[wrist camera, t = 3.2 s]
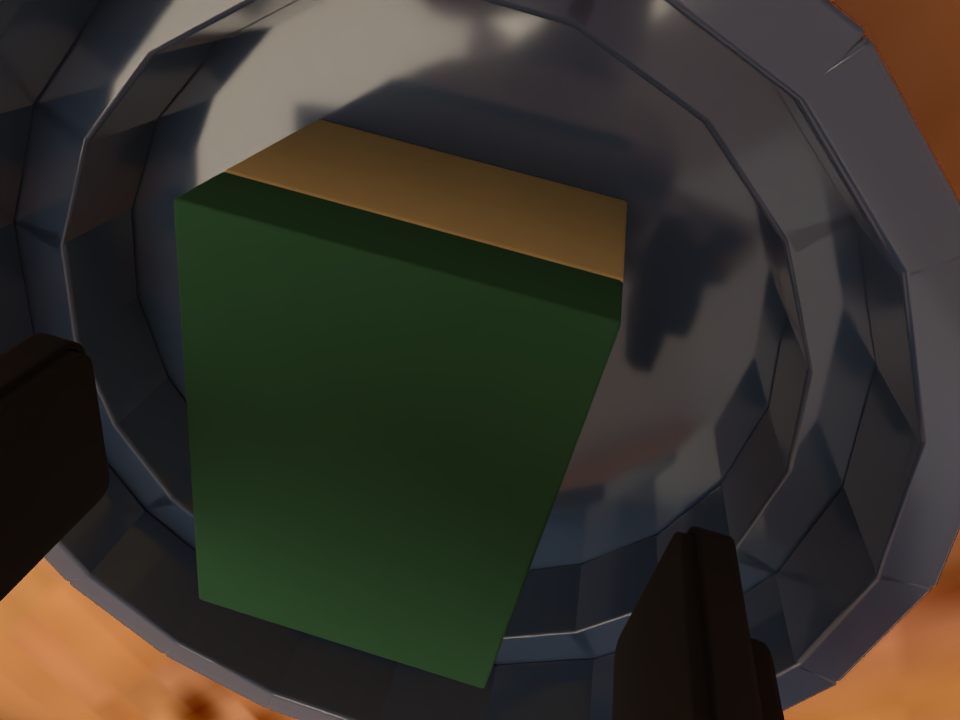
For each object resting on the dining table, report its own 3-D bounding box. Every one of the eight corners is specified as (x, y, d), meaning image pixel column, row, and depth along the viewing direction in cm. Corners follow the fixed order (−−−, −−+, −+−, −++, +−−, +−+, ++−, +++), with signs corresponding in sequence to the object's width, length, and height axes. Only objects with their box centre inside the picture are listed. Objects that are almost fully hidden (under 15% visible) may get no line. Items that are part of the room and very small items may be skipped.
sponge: (317, 118, 12) (170, 197, 8) (628, 200, 11) (622, 323, 8) (298, 451, 16) (197, 600, 12) (520, 517, 16) (484, 690, 12)
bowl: (209, -453, 9) (-121, -755, 5) (1115, 258, 11) (1365, 423, 7) (26, 379, 18) (-139, 497, 14) (541, 674, 20) (519, 844, 16)
